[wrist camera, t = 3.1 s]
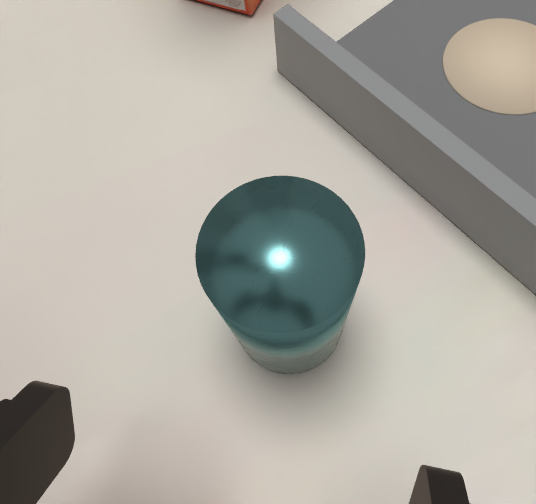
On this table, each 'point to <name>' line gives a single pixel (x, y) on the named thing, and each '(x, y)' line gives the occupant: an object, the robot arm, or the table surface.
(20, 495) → the robot arm
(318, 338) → the tin
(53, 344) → the table surface
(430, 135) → the low wall
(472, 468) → the table surface
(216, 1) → the cracker box
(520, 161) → the mat
